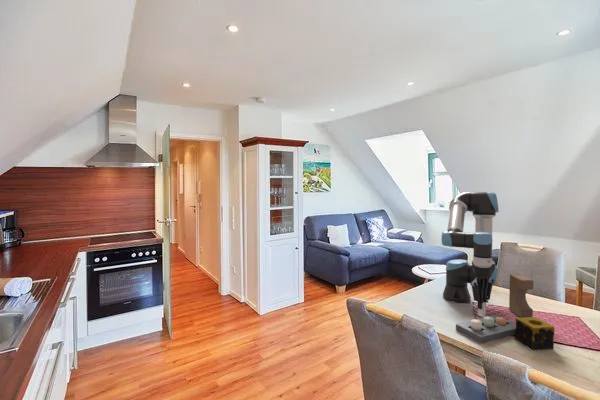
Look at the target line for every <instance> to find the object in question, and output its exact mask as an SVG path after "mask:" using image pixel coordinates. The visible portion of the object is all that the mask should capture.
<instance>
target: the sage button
mask: <svg viewBox="0 0 600 400" xmlns="http://www.w3.org/2000/svg"><path fill="white" fill-rule="evenodd" d="M488 316H489V315H487V316H486V315H485V316H484V320H483V326H485V327H487V328H489V329H491V328H494V318H492V317H488Z"/></svg>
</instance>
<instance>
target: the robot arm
mask: <svg viewBox="0 0 600 400" xmlns="http://www.w3.org/2000/svg"><path fill="white" fill-rule="evenodd" d="M448 209H449V210H448V211H449V216H448V217H449V218H448V222H447V223H448V224H447V231H442V233H441V245H442V246H444V247H450V248H465V249H473V255H472V256H473V258H472V260H471V263H470V262H469V261H468V260H467V259H459V258H458V259H450V260H448V261H447V262H446V265H445V267H446V268H445V270H446V271H445V287H444V290H443V291H442V298H443V299H444V300H447V301H448V302H452V303H458V304H464V303H465V304H467V303H469V302H471V294H470V291H469V287H468V284H470V286H471V291H472V297H473V300H474V301H475V302H477V315H478V316H480V317H481V318H483V317H485V316H486V308H487V303H489V302H490V299H491V295H492V289H493V286H495V285H496V283H497V277H498V269H499V267H498V266H497V265H496V263H495V261H494V260H493V219H494V217H496V216H497V213H499V212H500V211H499V203H498V197H497V194H496V193H495V192H492V191H465V192H460V193H459V194H457V195H456V196H454V197H453V198H452V199H451V200H450V202H449V205H448ZM467 212H471V213H472V216H473V217H474V218H475V225H474V226H475V227H474V228H475V230H474V232H464V225H465V216H466V213H467Z"/></svg>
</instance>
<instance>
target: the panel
mask: <svg viewBox="0 0 600 400" xmlns="http://www.w3.org/2000/svg"><path fill="white" fill-rule="evenodd" d="M487 316H488V317H492V318H494V328H491V329H489V328H487V327H485V326H483V320H484V317H485V316H484V317H480V318H475V319H476V320H480V321H481V322H482V331H479V332H476V331H474V330H472V329H471V320H472V319H471V320H467V321H466V320H465V321H463V322H458V323H455V331H458V332H459V333H461V334H463V335H465V336H467V338H470V339H472V340H474V341H475V342H477V343H479V344H481V345H482V344H486V343H489V342H494V341H497V340H500V339H504V338H509V337H513V336H515V329H516V322H513V321H510V320H508V319H506V325H503V326H502V325H500V324H497V323H496V317H500V316H499V315H497V314H492V315H487Z"/></svg>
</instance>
